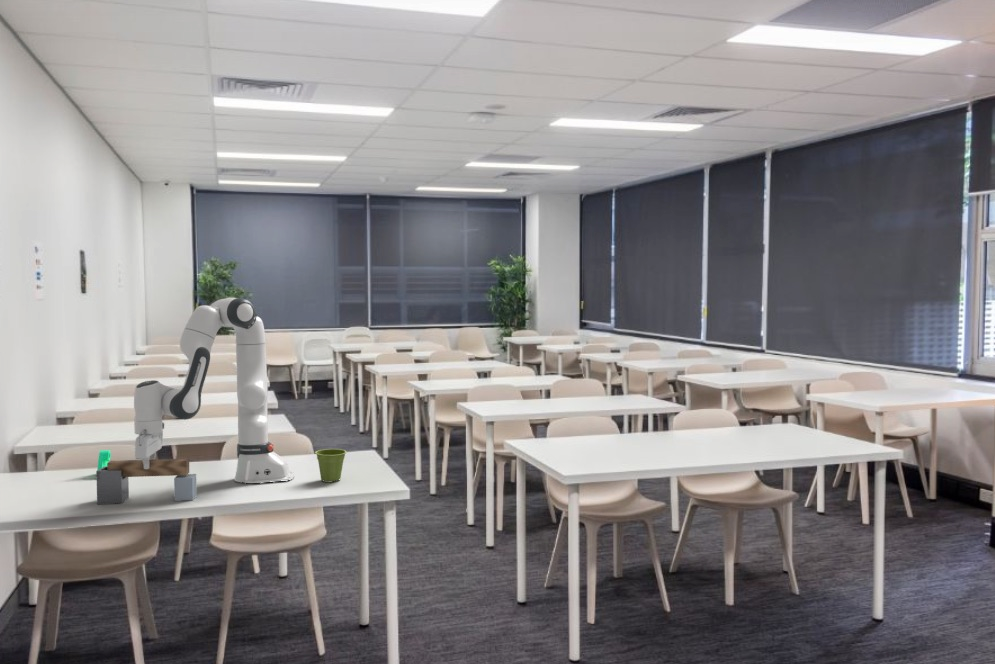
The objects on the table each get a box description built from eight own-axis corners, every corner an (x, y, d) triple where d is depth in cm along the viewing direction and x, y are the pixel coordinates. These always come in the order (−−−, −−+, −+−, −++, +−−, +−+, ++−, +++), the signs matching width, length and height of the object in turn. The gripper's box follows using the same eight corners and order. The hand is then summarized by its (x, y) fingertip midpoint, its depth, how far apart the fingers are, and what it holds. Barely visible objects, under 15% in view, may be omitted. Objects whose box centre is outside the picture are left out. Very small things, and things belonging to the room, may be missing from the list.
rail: (189, 472, 276) (189, 458, 276) (186, 475, 272) (186, 461, 272) (111, 474, 272) (111, 460, 272) (107, 477, 268) (107, 463, 268)
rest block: (196, 496, 278) (196, 473, 277) (192, 500, 272) (192, 477, 271) (178, 496, 277) (178, 474, 276) (174, 501, 271) (174, 478, 270)
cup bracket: (128, 498, 275) (128, 465, 274) (121, 503, 267) (121, 470, 267) (104, 498, 274) (103, 466, 273) (97, 504, 266) (96, 471, 266)
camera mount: (118, 478, 305) (117, 452, 304) (97, 479, 303) (96, 453, 303) (125, 472, 317) (124, 446, 316) (104, 473, 315) (103, 447, 314)
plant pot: (317, 485, 294) (317, 455, 293) (313, 478, 305) (313, 450, 304) (349, 482, 298) (349, 453, 298) (343, 476, 309) (343, 447, 309)
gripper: (149, 432, 261) (150, 473, 262) (165, 422, 282) (166, 460, 282) (129, 433, 260) (130, 474, 261) (147, 423, 281) (148, 461, 281)
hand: (149, 467), depth 272 cm, fingers closed on rail, 4 cm apart
